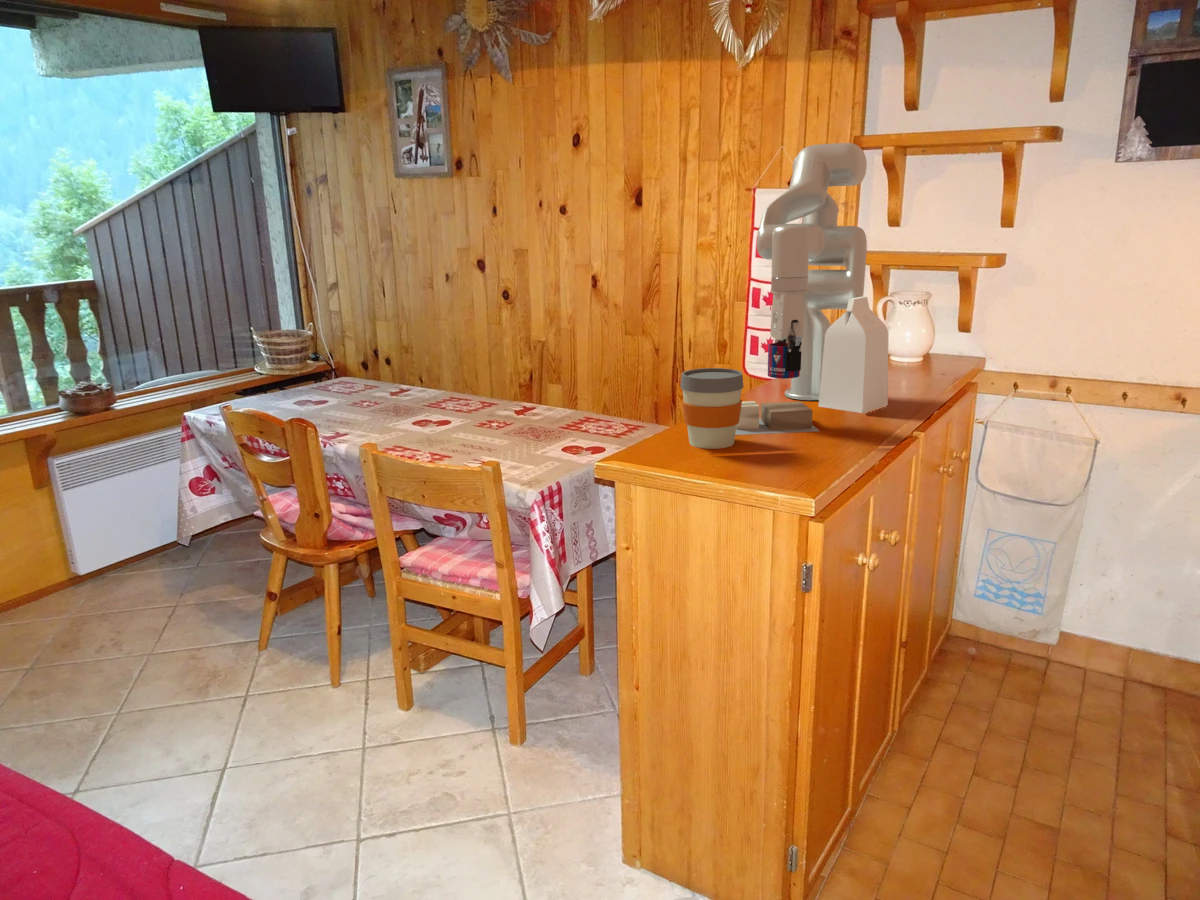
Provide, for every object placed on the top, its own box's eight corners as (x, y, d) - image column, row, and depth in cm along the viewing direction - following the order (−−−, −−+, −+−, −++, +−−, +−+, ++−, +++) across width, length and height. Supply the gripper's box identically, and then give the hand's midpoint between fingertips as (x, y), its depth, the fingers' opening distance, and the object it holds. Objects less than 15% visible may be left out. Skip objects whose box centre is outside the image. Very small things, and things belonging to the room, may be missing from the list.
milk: (844, 400, 210) (849, 294, 203) (887, 406, 202) (894, 296, 195) (818, 409, 202) (822, 299, 195) (862, 415, 194) (867, 301, 187)
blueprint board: (723, 422, 192) (723, 419, 192) (801, 418, 193) (801, 416, 193) (735, 437, 179) (735, 434, 179) (819, 433, 180) (819, 431, 179)
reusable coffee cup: (729, 456, 165) (730, 380, 161) (670, 450, 171) (670, 376, 167) (751, 441, 176) (752, 369, 172) (695, 435, 182) (695, 366, 178)
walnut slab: (760, 420, 190) (760, 403, 189) (800, 418, 190) (800, 401, 189) (770, 430, 181) (770, 412, 180) (811, 428, 182) (812, 410, 181)
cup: (762, 377, 181) (762, 345, 180) (783, 370, 189) (784, 339, 187) (790, 379, 177) (791, 347, 176) (811, 372, 185) (812, 341, 183)
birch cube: (731, 424, 188) (731, 402, 187) (753, 423, 188) (754, 401, 187) (736, 429, 183) (736, 406, 182) (759, 428, 183) (759, 405, 182)
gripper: (762, 283, 186) (760, 361, 191) (782, 289, 169) (780, 374, 174) (795, 282, 186) (793, 360, 191) (819, 288, 170) (816, 373, 174)
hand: (787, 367), depth 182 cm, fingers closed on cup, 8 cm apart
